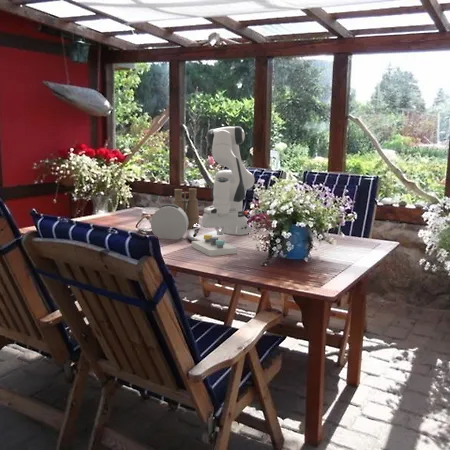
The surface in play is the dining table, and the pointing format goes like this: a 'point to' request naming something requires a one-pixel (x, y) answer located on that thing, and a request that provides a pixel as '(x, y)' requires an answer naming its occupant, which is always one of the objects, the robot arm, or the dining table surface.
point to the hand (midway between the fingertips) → (220, 235)
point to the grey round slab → (169, 222)
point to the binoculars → (188, 205)
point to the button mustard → (207, 237)
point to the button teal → (220, 243)
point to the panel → (213, 248)
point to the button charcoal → (213, 240)
